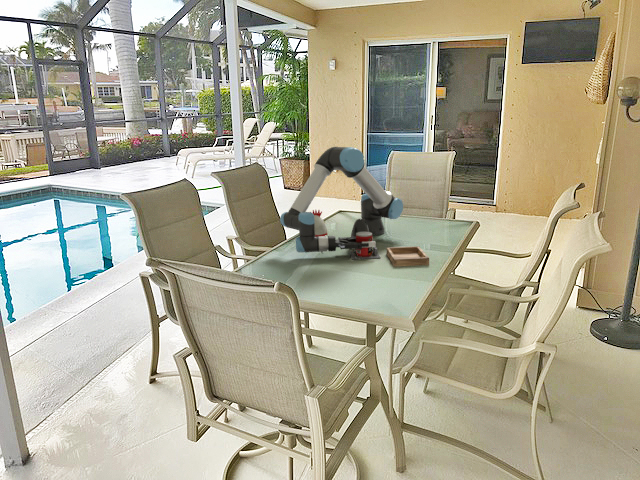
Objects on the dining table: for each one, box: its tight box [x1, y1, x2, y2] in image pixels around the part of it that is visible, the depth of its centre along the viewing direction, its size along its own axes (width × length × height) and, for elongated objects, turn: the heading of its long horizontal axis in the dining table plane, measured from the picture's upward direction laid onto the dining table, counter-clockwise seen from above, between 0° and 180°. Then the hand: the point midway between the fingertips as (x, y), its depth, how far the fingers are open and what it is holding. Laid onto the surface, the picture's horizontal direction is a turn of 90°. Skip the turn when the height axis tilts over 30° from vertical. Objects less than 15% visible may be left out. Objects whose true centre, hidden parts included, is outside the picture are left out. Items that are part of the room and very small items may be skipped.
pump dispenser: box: [350, 217, 369, 237], centre depth 254 cm, size 10×10×15 cm
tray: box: [386, 245, 430, 267], centre depth 232 cm, size 20×16×3 cm
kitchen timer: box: [312, 209, 328, 237], centre depth 282 cm, size 14×14×15 cm
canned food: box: [355, 232, 373, 257], centre depth 240 cm, size 8×8×11 cm
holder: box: [348, 245, 381, 261], centre depth 241 cm, size 14×14×4 cm
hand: (374, 241), depth 240 cm, fingers closed on canned food, 8 cm apart
